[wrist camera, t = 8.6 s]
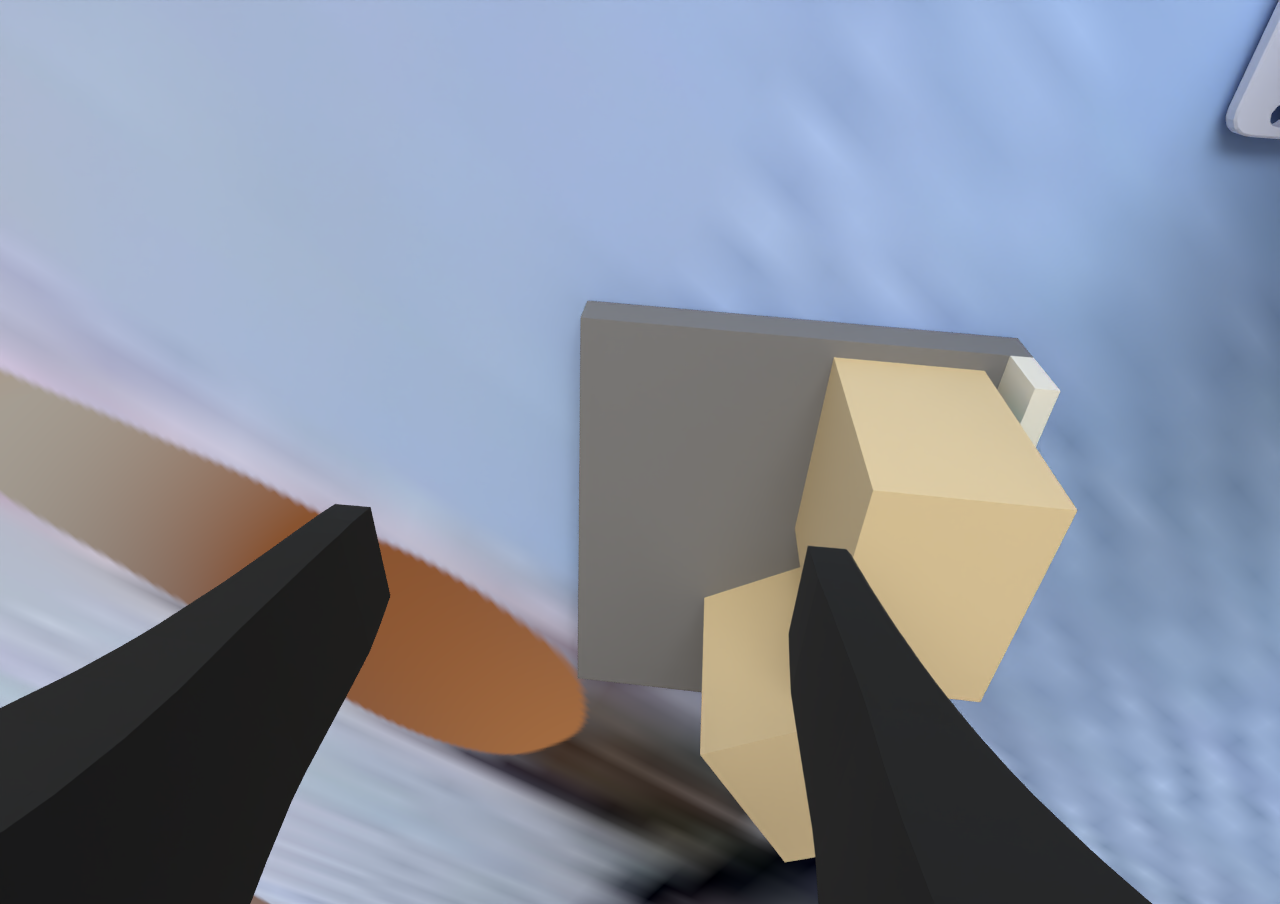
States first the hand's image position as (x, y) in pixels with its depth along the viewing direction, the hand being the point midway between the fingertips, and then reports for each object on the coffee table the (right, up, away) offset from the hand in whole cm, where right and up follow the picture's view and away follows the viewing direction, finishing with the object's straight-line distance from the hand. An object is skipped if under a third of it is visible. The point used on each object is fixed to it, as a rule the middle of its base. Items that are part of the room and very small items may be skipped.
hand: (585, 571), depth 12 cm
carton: (+6, -5, +13) cm, 16 cm away
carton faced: (+8, +2, +9) cm, 12 cm away
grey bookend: (+5, 0, +12) cm, 13 cm away
